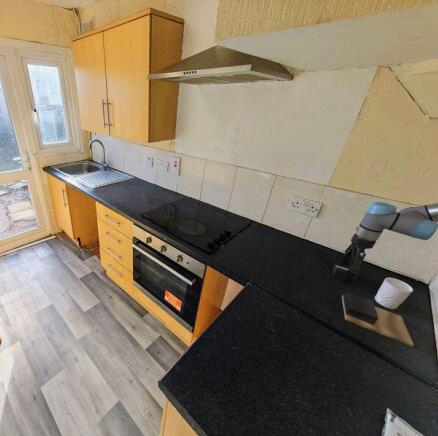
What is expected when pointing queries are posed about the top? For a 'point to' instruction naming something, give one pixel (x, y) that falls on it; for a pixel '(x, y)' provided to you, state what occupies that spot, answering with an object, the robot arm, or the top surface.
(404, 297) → the white cup
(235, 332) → the top surface
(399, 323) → the mount board
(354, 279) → the loose pad
